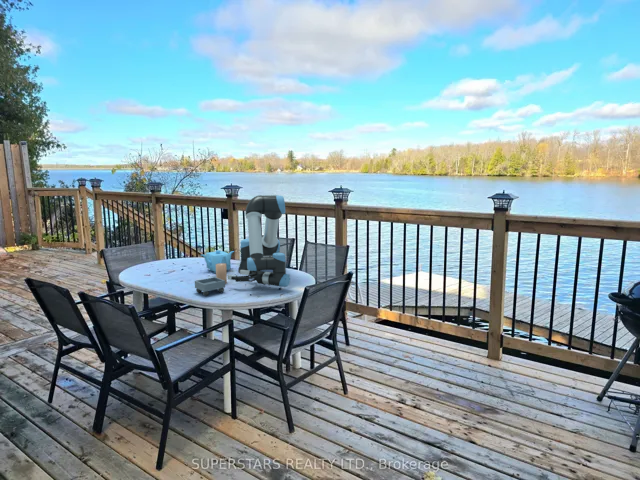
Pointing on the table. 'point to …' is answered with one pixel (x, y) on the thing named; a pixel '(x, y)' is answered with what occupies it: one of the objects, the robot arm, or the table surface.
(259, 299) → the table surface
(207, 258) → the teakettle
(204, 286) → the caster cart
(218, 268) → the canister
